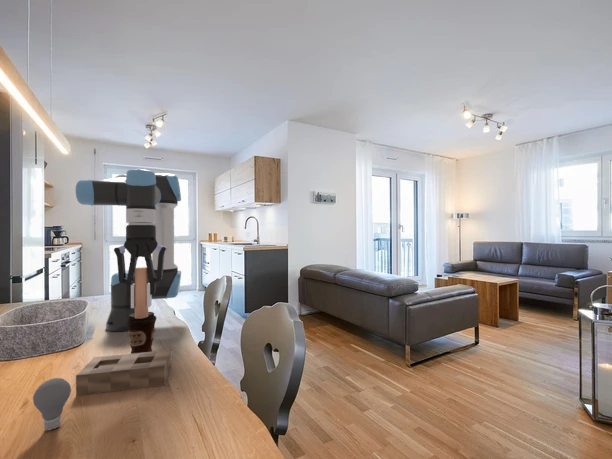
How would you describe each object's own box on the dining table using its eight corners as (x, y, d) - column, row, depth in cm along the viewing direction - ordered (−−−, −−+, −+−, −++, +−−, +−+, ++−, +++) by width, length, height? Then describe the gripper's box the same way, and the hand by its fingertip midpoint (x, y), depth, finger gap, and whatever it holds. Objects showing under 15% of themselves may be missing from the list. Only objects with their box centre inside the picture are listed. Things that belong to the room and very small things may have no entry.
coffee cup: (143, 360, 96) (142, 318, 96) (120, 357, 98) (120, 316, 98) (161, 349, 105) (161, 311, 105) (140, 347, 106) (140, 309, 106)
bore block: (94, 375, 86) (94, 357, 86) (171, 366, 92) (171, 349, 91) (76, 395, 76) (76, 375, 76) (164, 384, 81) (164, 365, 81)
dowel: (136, 315, 89) (136, 267, 89) (149, 314, 90) (149, 266, 90) (133, 319, 86) (133, 268, 86) (147, 318, 87) (146, 268, 87)
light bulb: (48, 419, 66) (47, 373, 66) (77, 418, 67) (77, 372, 67) (25, 438, 60) (24, 387, 60) (57, 437, 61) (57, 386, 61)
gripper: (103, 224, 82) (104, 312, 82) (170, 224, 87) (170, 307, 87) (112, 224, 89) (112, 305, 89) (173, 224, 94) (174, 301, 94)
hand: (141, 306), depth 88 cm, fingers closed on dowel, 3 cm apart
